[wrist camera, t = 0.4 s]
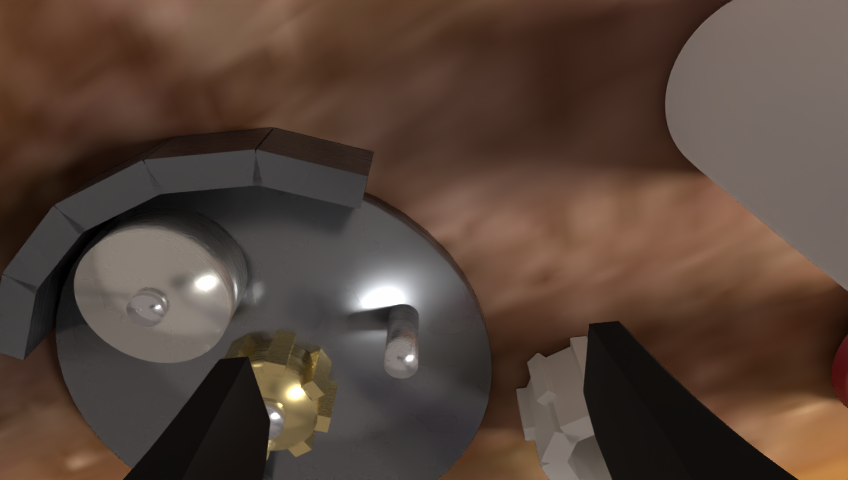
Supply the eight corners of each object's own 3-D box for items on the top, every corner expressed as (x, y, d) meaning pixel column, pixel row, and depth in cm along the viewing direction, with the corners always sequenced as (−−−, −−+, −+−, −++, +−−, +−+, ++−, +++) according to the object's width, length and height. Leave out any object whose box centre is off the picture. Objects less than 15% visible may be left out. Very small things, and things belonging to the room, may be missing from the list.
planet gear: (612, 442, 28) (640, 516, 24) (502, 421, 27) (514, 493, 23) (662, 352, 25) (701, 419, 22) (542, 326, 25) (562, 390, 21)
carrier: (429, 532, 30) (430, 610, 27) (38, 464, 28) (-18, 539, 25) (561, 197, 22) (587, 246, 18) (17, 64, 20) (-72, 90, 16)
